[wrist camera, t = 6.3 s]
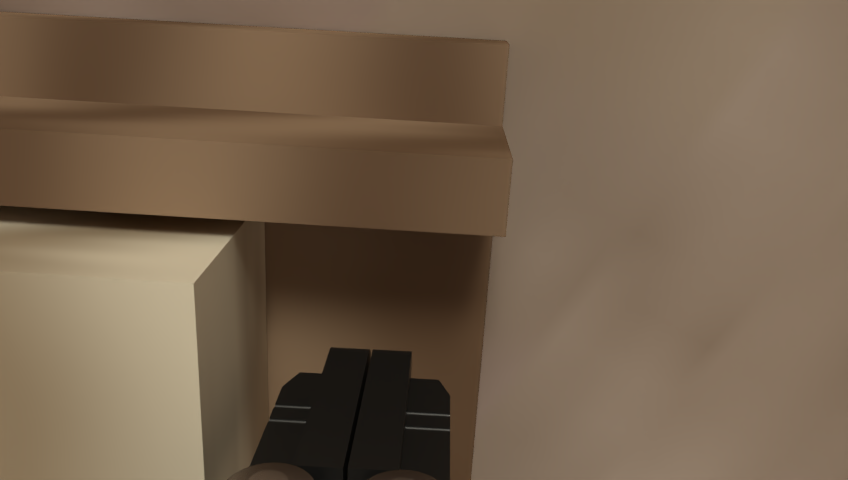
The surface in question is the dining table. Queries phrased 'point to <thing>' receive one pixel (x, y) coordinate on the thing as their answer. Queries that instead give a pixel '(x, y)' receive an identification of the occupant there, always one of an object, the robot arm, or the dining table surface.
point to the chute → (286, 170)
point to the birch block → (130, 345)
